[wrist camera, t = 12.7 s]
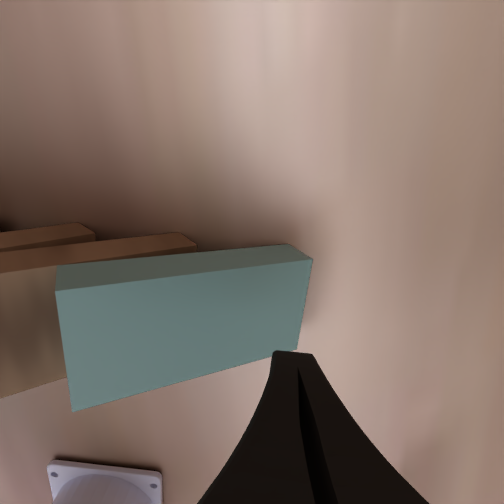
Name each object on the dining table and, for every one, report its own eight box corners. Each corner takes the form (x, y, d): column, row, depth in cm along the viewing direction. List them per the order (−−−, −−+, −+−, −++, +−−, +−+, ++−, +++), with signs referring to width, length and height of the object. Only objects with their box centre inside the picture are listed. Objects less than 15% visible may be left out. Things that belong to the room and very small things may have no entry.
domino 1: (193, 335, 16) (-78, 423, 11) (177, 316, 18) (-69, 384, 12) (197, 245, 15) (-127, 291, 9) (178, 232, 16) (-110, 264, 10)
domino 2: (296, 349, 16) (72, 412, 12) (276, 327, 18) (72, 375, 13) (312, 259, 14) (54, 291, 10) (288, 243, 16) (57, 265, 11)
